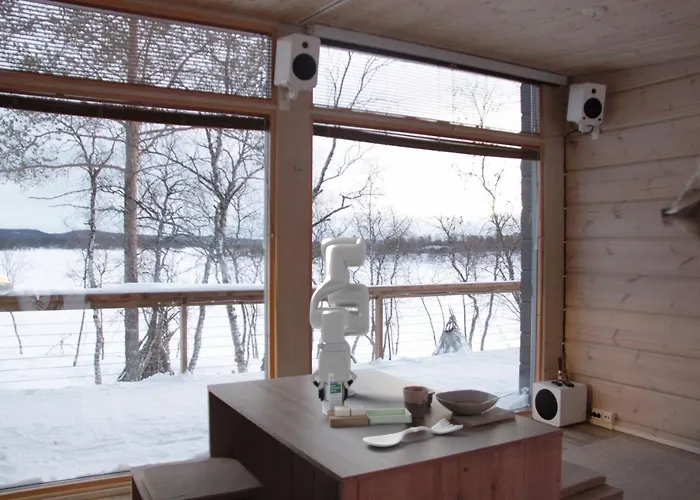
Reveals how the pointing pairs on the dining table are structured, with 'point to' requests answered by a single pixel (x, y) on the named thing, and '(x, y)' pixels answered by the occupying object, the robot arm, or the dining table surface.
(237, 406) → the dining table surface
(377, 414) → the tray
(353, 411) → the tile
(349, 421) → the board
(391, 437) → the spoon
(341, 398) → the syrup box
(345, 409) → the tile
